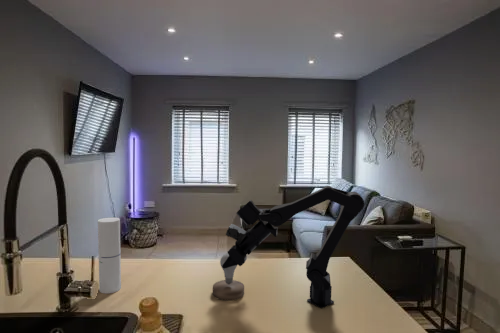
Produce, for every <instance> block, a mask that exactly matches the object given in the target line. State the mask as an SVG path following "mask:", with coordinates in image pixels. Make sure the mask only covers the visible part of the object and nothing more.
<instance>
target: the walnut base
mask: <svg viewBox="0 0 500 333" xmlns="http://www.w3.org/2000/svg"><path fill="white" fill-rule="evenodd" d="M244 295H245V284H244V283H243V282H241V281H239V280H235V279H233V282H232V283H231V284H227V283H226V282H225V279H223V280H220V281H215V283H213V285H212V296H213V297H214V298H215V299H217V300H220V301H235V300H236V301H237V300H238V299H241V298H243V297H244Z"/></svg>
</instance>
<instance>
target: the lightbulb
mask: <svg viewBox="0 0 500 333" xmlns="http://www.w3.org/2000/svg"><path fill="white" fill-rule="evenodd" d="M228 257H229V254H228V253H224V254H223V255H222V256H221V258H220V259H219V260H220V261H219V264H220V267H221V268H222V265H223V264H224V263H225V261H226V260H227V258H228ZM237 267H238V265H235V266H232V267H228V268H225V269H223V268H222V271H223V274H224V280H225V282H226V283H227V284H231V283H232V282H233V280H234V279H233V278H234V274H235V270H236V269H237Z"/></svg>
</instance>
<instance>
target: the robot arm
mask: <svg viewBox="0 0 500 333" xmlns="http://www.w3.org/2000/svg"><path fill="white" fill-rule="evenodd" d="M326 201H331V202H333V203H336V204H338V205H340V210H339V213H338V216H337V218H336V220H335V221H334V223H333V226H332V227H331V229H330V231H329V232H328V235H327V236H326V237H325V240H324V242H323V243H322V245H321V247H320V248H319V251H317V253H314V252H311V253H310V256H309V258H308V260H306V263H305V264H306V265H305V269H306V274H305V275H306V278H307V279H308V281H310V286H309V298H307V300H306V302H308V303H310V304H312V305H315V306H316V307H318V308H320V309H323V308H326V307H328V306H331V305H332V304H334V303H335V301H334V300H332V285H331V275H330V273H329V272H328V270H327V269H328V266H329V262H330V259H331V257H332V255H333V254H334V251H335V250H336V248H337V247H338V245H339V242H340V241H341V239H342V238H343V236H344V234H345V232H346V230H347V228H348V226H349V224H350V223H351V222H352V221H353V220H354V219H355V218H356V217H357V216H358V215H360V213H361V212H362V210H363V209H364V207H365V200H364V199H363V197H362V196H361V194H360V193H358V192H357V191H349V192H348V191H345V190H343V189H338V188H335V187H332V186H331V185H325V186H324V187H322V188H321V189H318V190H316V191H314V192H312V193H310V194H308V195H305V196H303V197H301V198H299V199H297V200H294V201H292V202H288V203H283V204H282V203H281V204H279V205H275V206H273V207H272V208H270V209H269V208H268V209H262V210H261V209H260V208H259V207H258V206H256V204H255V202H254V201H253V200H252V199H250V200H248V202H246V204H244V205H243V206H242V207H241V208H240V209H239V210H238V211H236V213H235V215H237V216H238V217H239V218H240V220H242V221H243V223H245V224H246V226H248V225H249V226H252V227H251V228H249V229H247V230H245V229H243V228H242V227H240V226H238V225H236V224H234V223H231V224H230V225H229V226H228V228H227V229H226V233H225V236H227V237H230V238H232V239H234V240H235V243H234V244H235V245H232V246H231V247H230V248H229V249H228V251H227V253H228V254H229V257H228V258H227V260H226V261H225V263H224V264H223V265H222V267H221V268H223V269H225V268H228V267H232V266H235V265H237V266H239V267H242V266H243V265H244V264H245V263H246V261H247V255H250V254H251V253H252V251H254V250H255V249H256V248H257V247H259V246H260V245H261V243H262V242H263V241H264V240H265V239H267V238H268V237H269V236H270V235H271V234H272V236H273V237H275V238H276V237H278V234H279V233H278V229H279V227H280V226H282V225H283V224H284V223H287V222H288V221H289V220H290V219H292V218H293V217H294V216H296V215H297V214H300V213H302V212H305V211H307V210H309V209H311V208H313V207H315V206H317V205H319V204H321V203H324V202H326ZM223 269H222V270H223Z"/></svg>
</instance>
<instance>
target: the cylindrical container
mask: <svg viewBox="0 0 500 333" xmlns="http://www.w3.org/2000/svg"><path fill="white" fill-rule="evenodd" d="M97 232H98V233H97V236H98V237H97V240H98V241H97V242H98V243H97V245H98V274H99V275H98V283H99V284H98V286H99V288H98V289H99V292H100V293H102V294H112V293H116V292H118V291H120V290H121V289H122V281H121V280H122V271H121V270H122V267H121V262H122V261H121V260H122V259H121V258H122V257H121V219H120V217H116V216H115V217H104V218H103V217H102V218H99V219H98V220H97Z"/></svg>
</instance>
